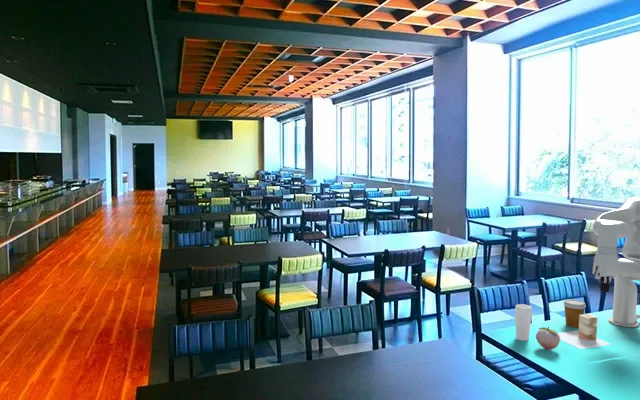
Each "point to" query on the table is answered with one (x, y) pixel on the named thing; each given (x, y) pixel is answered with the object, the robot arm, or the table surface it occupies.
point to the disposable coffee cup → (573, 312)
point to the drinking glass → (523, 321)
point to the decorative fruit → (548, 338)
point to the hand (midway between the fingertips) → (604, 291)
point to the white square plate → (580, 340)
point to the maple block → (587, 327)
